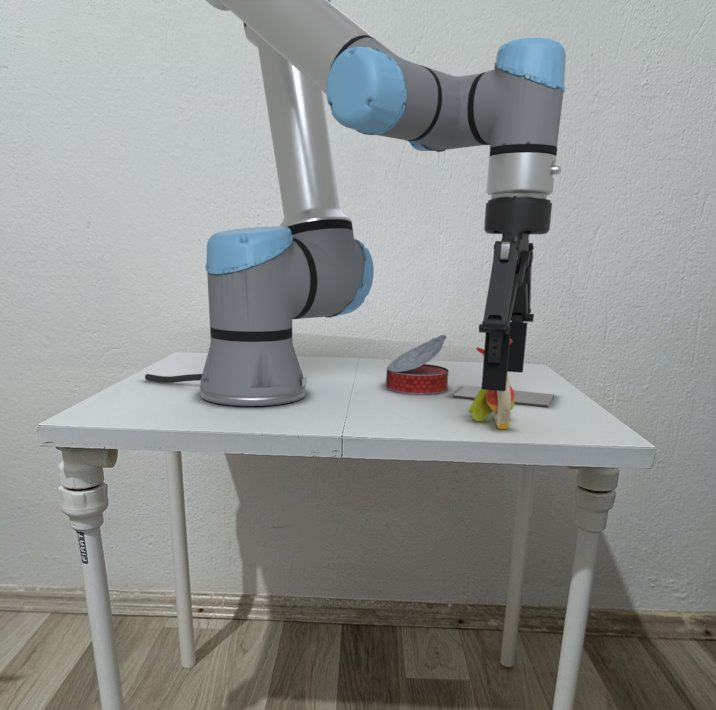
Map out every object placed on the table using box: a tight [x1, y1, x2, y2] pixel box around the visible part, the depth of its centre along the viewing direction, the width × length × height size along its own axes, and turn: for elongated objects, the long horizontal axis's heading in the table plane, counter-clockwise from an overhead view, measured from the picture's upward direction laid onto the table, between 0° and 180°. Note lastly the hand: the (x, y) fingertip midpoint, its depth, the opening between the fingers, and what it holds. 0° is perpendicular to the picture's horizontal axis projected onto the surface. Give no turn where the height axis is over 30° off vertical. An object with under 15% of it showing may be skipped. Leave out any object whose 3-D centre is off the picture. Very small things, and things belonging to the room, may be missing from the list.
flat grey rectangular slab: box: [452, 385, 555, 408], centre depth 101 cm, size 14×8×1 cm, turn 68°
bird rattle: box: [468, 339, 515, 430], centre depth 84 cm, size 6×11×9 cm
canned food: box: [385, 334, 450, 395], centre depth 105 cm, size 11×10×10 cm
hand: (503, 380), depth 84 cm, fingers open, 13 cm apart
